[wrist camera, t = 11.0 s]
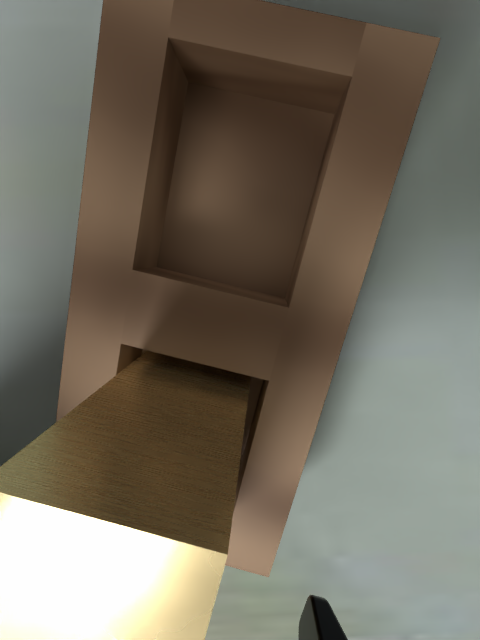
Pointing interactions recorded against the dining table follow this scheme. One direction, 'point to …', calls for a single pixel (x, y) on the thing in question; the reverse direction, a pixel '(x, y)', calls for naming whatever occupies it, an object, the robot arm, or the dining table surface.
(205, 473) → the tan block
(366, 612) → the dining table surface
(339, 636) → the robot arm
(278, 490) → the recessed tan tray
